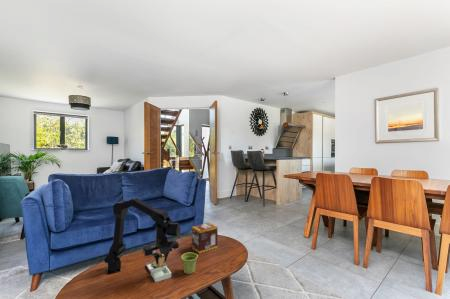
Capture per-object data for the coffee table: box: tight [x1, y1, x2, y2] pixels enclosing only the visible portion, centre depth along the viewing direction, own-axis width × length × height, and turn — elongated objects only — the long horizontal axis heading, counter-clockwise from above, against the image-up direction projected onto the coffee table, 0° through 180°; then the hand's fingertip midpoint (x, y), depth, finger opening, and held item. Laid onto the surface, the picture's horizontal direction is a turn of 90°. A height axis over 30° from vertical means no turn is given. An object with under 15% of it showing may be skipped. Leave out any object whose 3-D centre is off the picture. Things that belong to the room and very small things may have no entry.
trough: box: [150, 266, 172, 283], centre depth 121 cm, size 9×9×2 cm
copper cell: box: [157, 252, 166, 268], centre depth 121 cm, size 4×4×7 cm
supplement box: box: [191, 222, 218, 254], centre depth 156 cm, size 10×15×16 cm
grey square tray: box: [145, 261, 169, 274], centre depth 130 cm, size 10×10×1 cm
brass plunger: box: [152, 260, 158, 268], centre depth 130 cm, size 5×5×2 cm
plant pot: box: [180, 252, 199, 275], centre depth 125 cm, size 9×9×9 cm
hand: (160, 263), depth 121 cm, fingers closed on copper cell, 4 cm apart
